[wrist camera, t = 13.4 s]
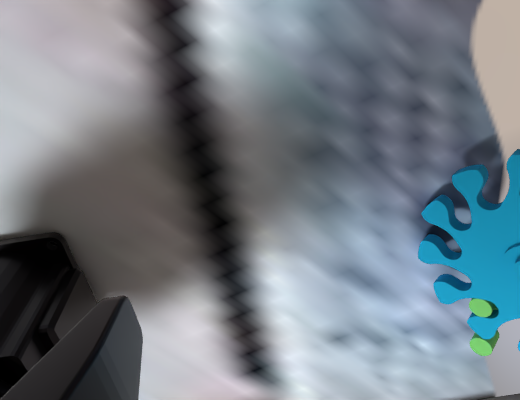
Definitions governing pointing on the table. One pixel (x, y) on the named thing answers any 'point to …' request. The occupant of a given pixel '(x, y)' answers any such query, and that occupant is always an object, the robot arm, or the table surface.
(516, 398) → the mouse tray
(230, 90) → the table surface
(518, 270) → the blue virus toy
